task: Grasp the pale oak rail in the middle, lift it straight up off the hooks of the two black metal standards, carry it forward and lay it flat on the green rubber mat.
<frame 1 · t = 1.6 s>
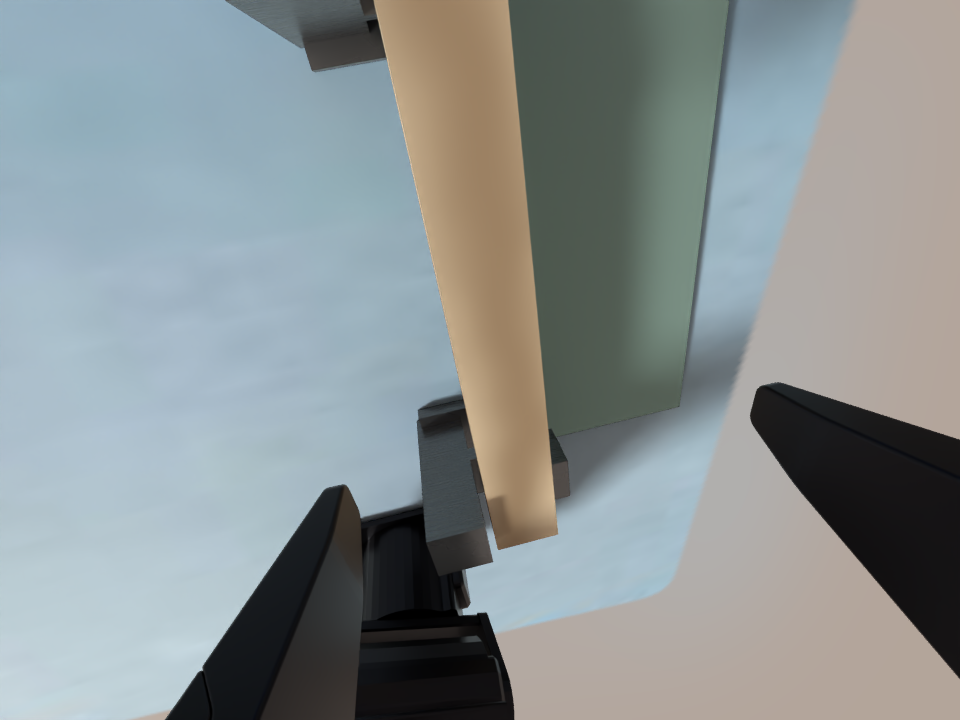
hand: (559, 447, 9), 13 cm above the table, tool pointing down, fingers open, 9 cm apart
mat: (613, 216, 20), on the table
standards: (398, 273, 20), on the table
rail: (478, 290, 17), point 4 cm above the table, touching standards
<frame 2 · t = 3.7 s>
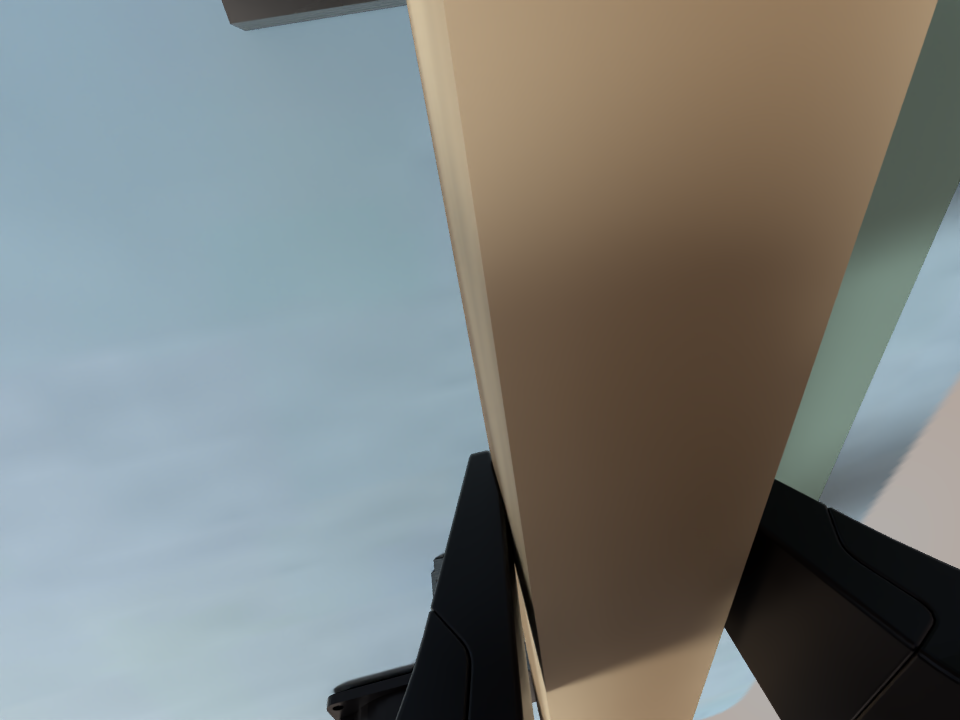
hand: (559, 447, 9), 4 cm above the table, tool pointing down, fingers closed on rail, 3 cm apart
mat: (765, 291, 12), on the table
standards: (410, 385, 12), on the table
rail: (567, 463, 9), point 4 cm above the table, touching gripper, standards
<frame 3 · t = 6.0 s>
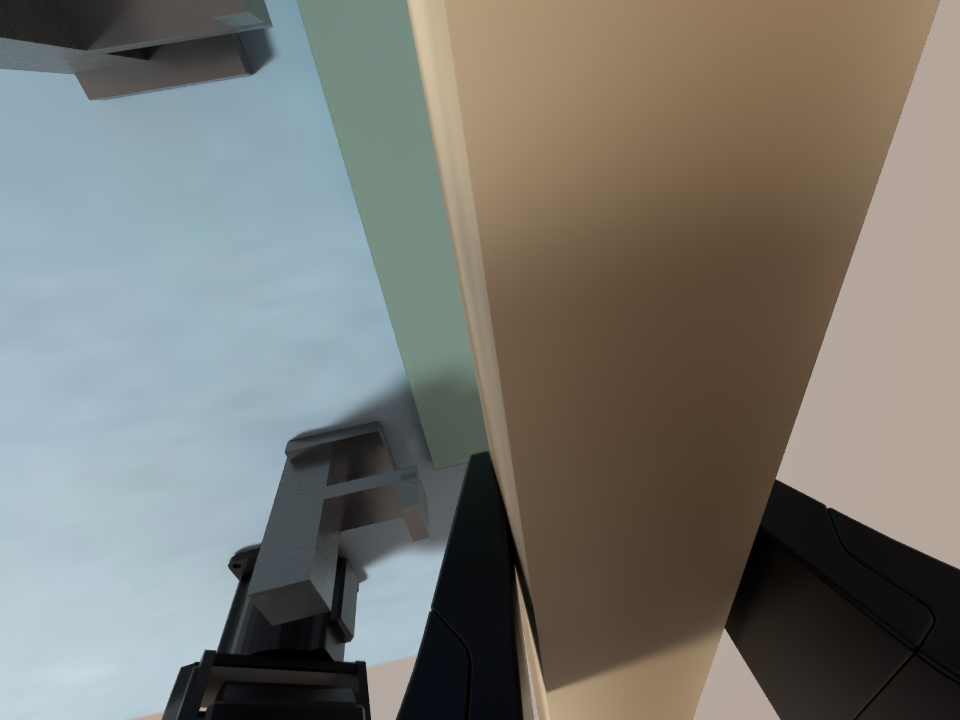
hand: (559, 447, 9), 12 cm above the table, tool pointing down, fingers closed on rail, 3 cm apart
mat: (469, 248, 19), on the table
standards: (240, 305, 19), on the table
rail: (567, 462, 9), point 13 cm above the table, touching gripper
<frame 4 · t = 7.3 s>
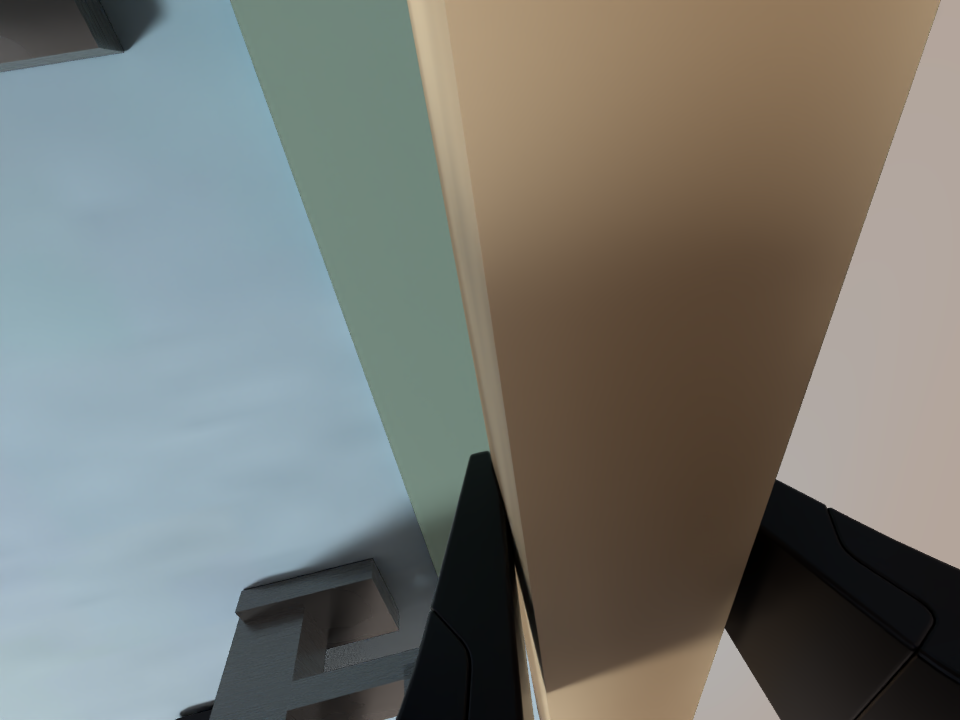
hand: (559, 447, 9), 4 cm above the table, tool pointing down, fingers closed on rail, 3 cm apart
mat: (513, 333, 12), on the table
standards: (148, 428, 12), on the table
rail: (567, 462, 9), point 5 cm above the table, touching gripper
when the fingers open (2 cm above the table, at t = 8.5 s): rail drops 2 cm, resting on mat.
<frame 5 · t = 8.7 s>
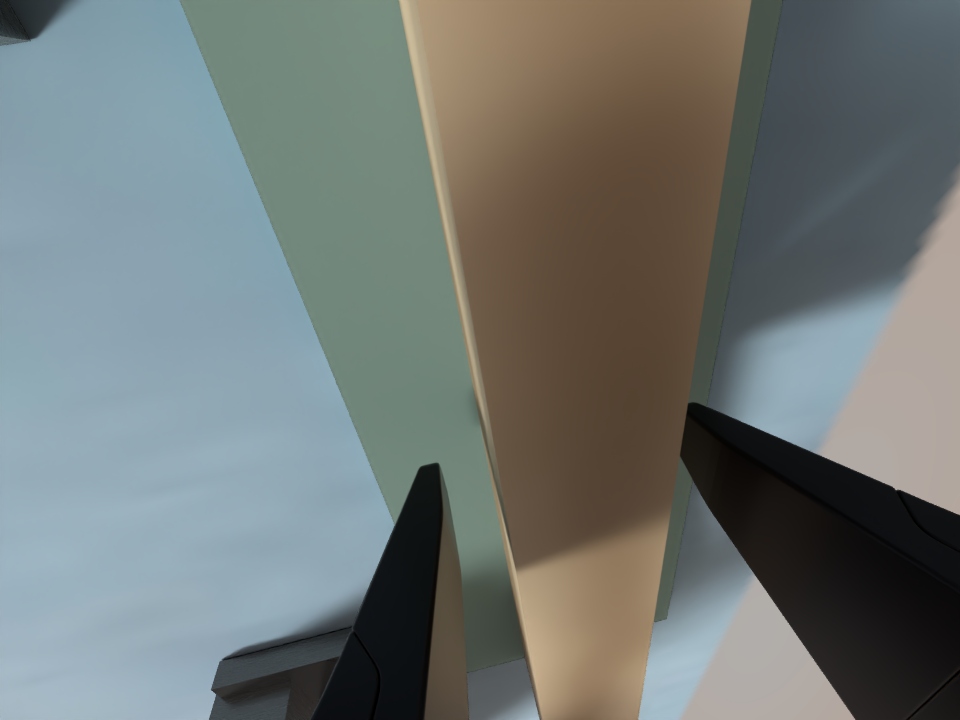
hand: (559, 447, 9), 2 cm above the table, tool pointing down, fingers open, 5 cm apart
mat: (535, 380, 10), on the table
standards: (98, 496, 10), on the table
rail: (542, 411, 10), point 1 cm above the table, touching mat
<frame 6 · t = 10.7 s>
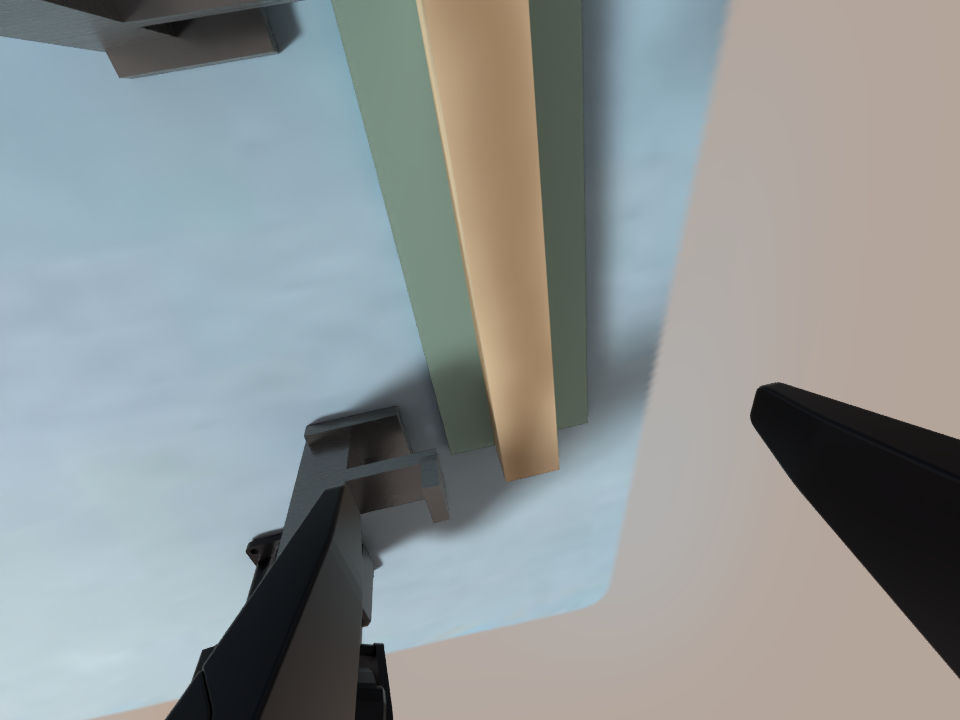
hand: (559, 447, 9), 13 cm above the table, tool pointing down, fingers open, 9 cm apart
mat: (490, 230, 19), on the table
standards: (262, 288, 19), on the table
rail: (493, 244, 19), point 1 cm above the table, touching mat
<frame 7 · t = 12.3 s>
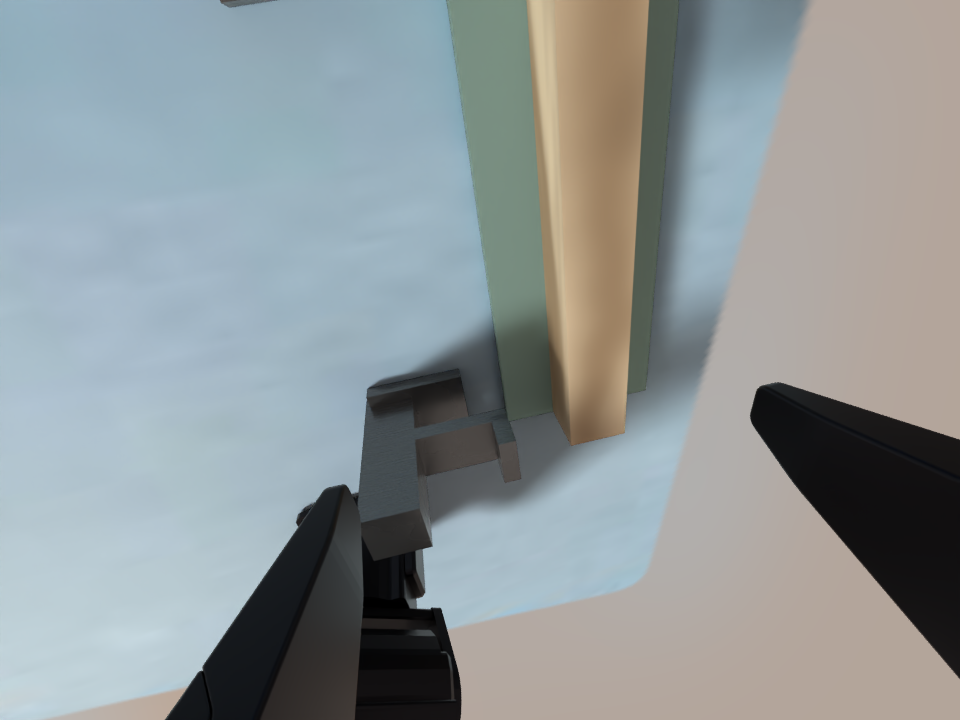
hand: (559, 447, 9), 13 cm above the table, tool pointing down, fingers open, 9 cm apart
mat: (568, 181, 19), on the table
standards: (337, 238, 18), on the table
rail: (572, 195, 19), point 1 cm above the table, touching mat
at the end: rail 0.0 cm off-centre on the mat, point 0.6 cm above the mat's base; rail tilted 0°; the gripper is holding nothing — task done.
